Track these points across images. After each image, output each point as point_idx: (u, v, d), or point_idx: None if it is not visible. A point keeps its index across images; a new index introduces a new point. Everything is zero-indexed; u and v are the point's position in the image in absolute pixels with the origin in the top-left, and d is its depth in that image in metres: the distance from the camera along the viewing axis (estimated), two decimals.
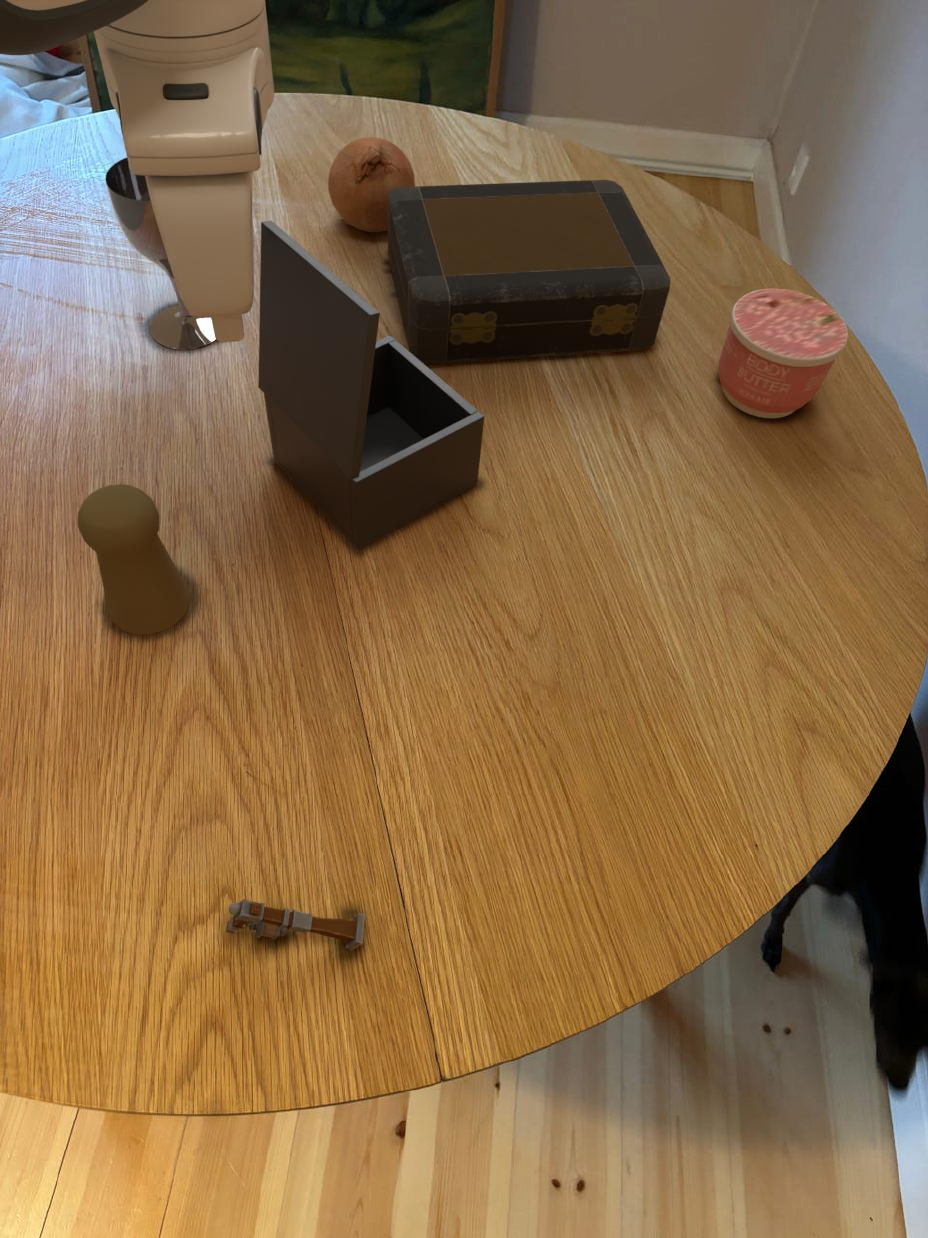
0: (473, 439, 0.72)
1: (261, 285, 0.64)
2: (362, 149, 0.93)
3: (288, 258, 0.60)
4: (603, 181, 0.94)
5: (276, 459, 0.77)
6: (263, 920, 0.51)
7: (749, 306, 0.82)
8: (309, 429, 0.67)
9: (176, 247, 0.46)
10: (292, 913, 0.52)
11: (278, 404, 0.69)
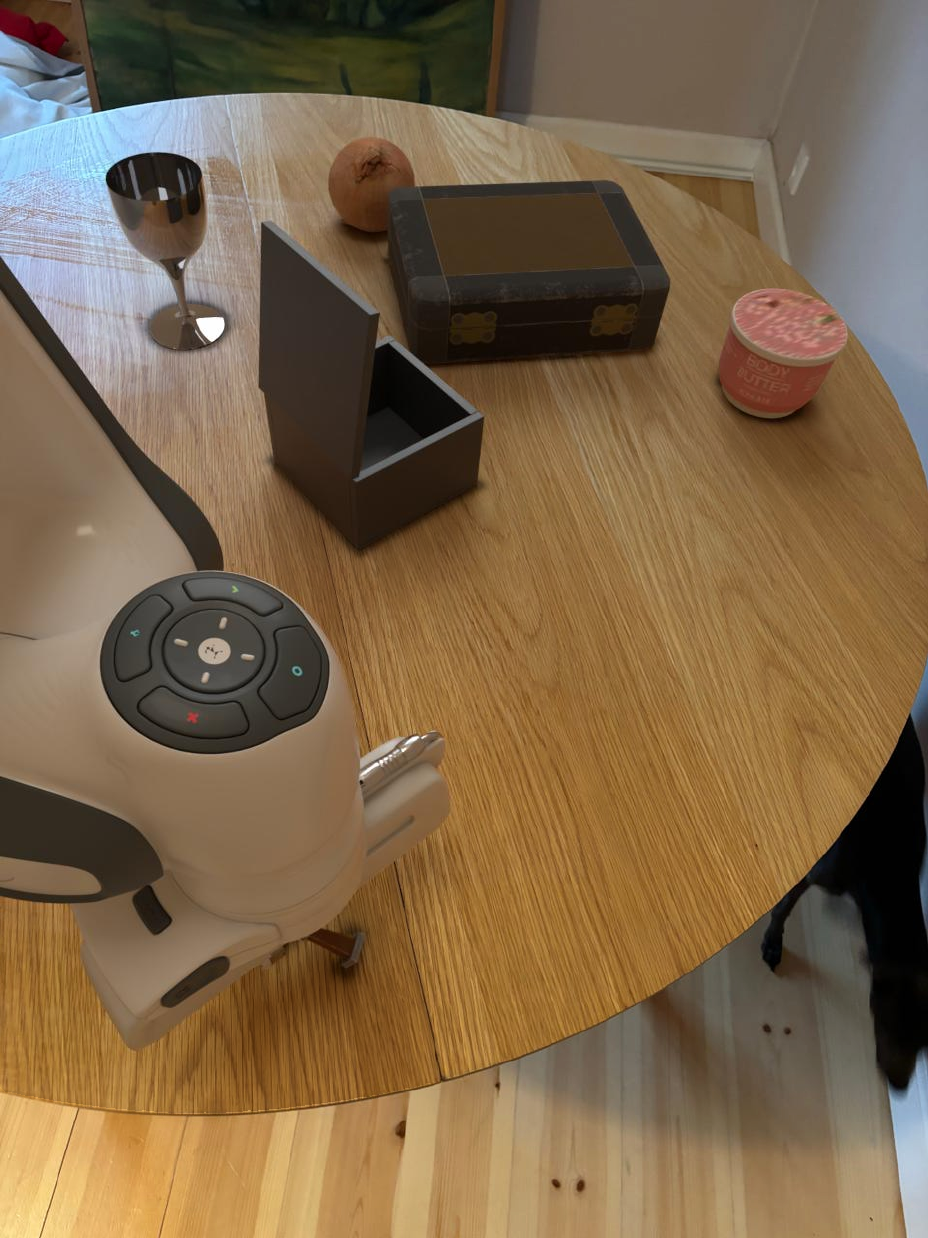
0: (473, 439, 0.72)
1: (261, 285, 0.64)
2: (362, 149, 0.93)
3: (288, 258, 0.60)
4: (603, 181, 0.94)
5: (276, 459, 0.77)
6: None
7: (749, 306, 0.82)
8: (309, 429, 0.67)
9: (86, 974, 0.42)
10: None
11: (278, 404, 0.69)
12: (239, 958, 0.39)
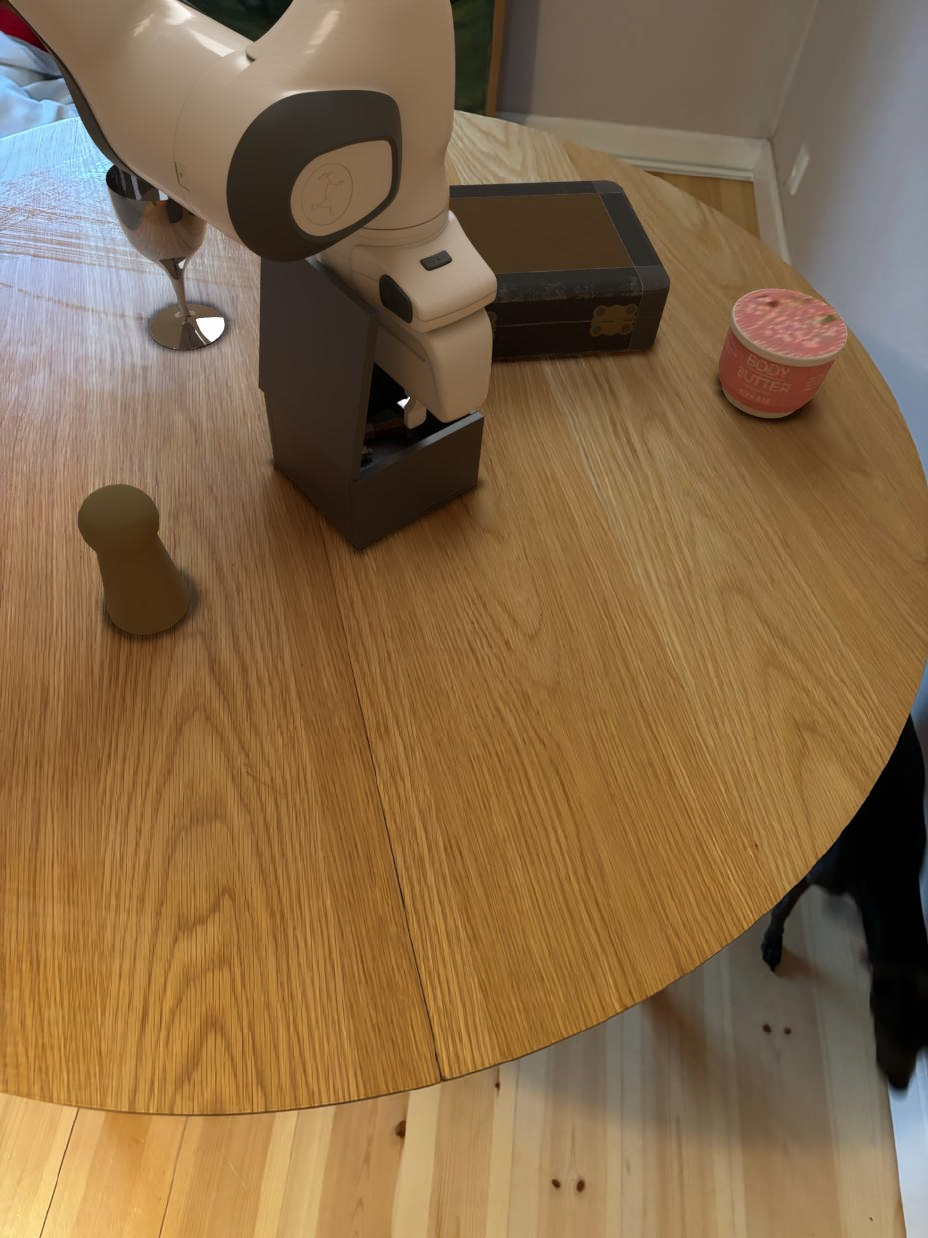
0: (473, 439, 0.72)
1: (261, 285, 0.64)
2: None
3: None
4: (603, 181, 0.94)
5: (276, 459, 0.77)
6: None
7: (749, 306, 0.82)
8: (309, 429, 0.67)
9: (450, 376, 0.59)
10: None
11: (278, 404, 0.69)
12: None
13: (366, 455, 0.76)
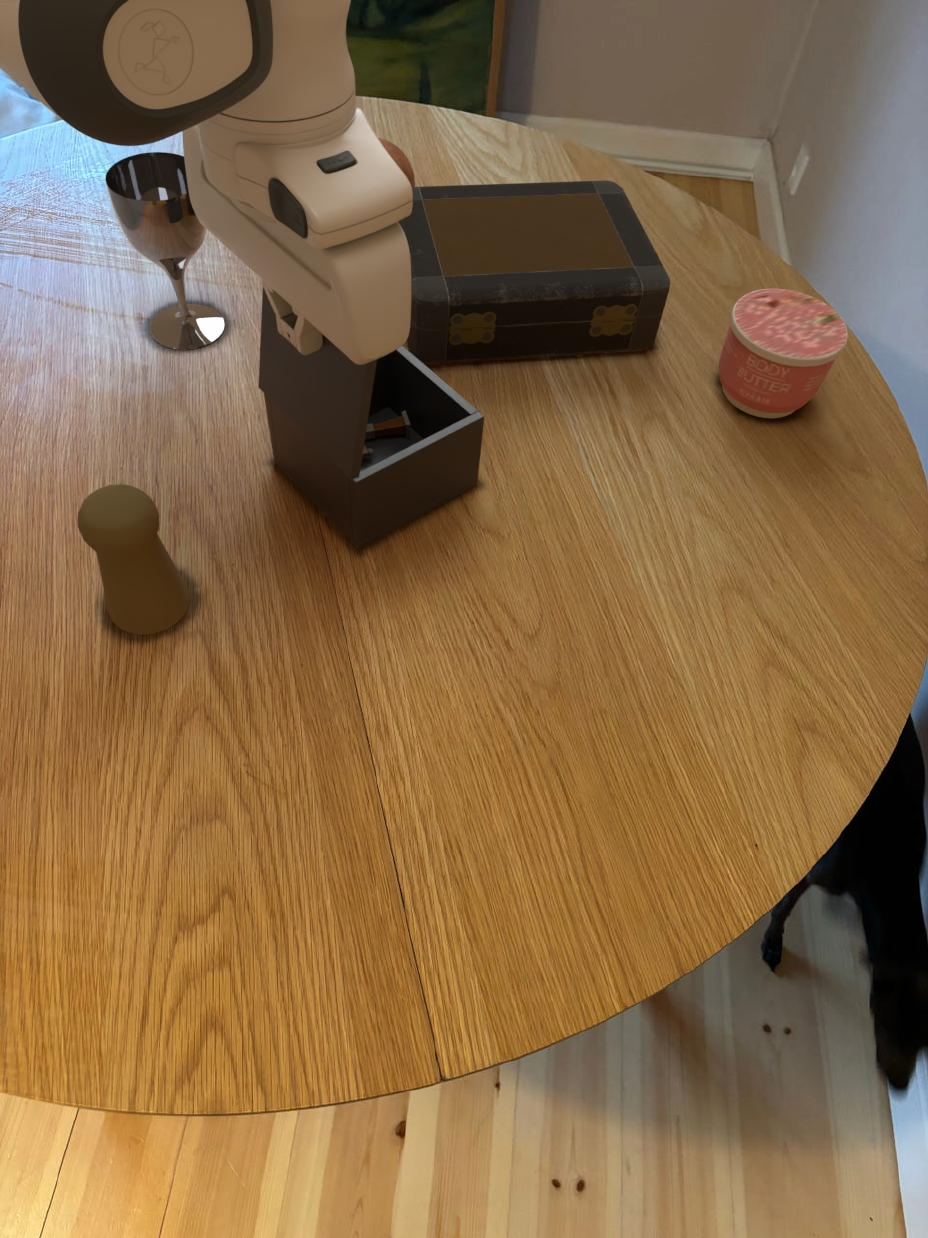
0: (473, 439, 0.72)
1: None
2: None
3: None
4: (603, 182, 0.93)
5: (276, 459, 0.77)
6: None
7: (749, 306, 0.82)
8: (309, 429, 0.67)
9: (359, 305, 0.49)
10: None
11: (278, 404, 0.69)
12: None
13: (366, 455, 0.76)
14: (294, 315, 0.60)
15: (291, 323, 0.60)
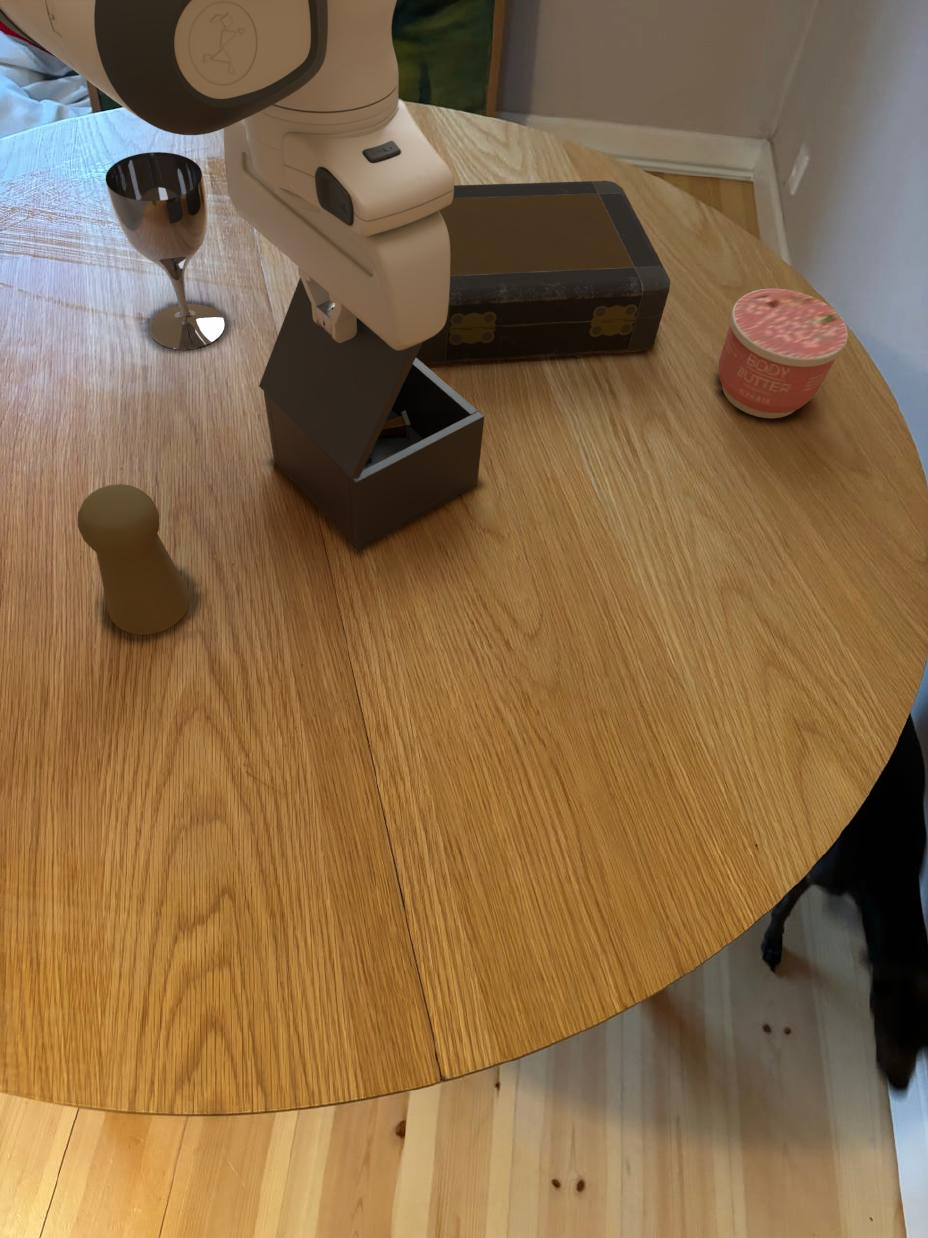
0: (473, 439, 0.72)
1: (299, 282, 0.66)
2: None
3: None
4: (603, 182, 0.94)
5: (276, 459, 0.77)
6: None
7: (749, 306, 0.82)
8: (313, 427, 0.67)
9: (401, 291, 0.51)
10: None
11: (280, 402, 0.69)
12: None
13: None
14: (329, 304, 0.62)
15: (327, 311, 0.61)
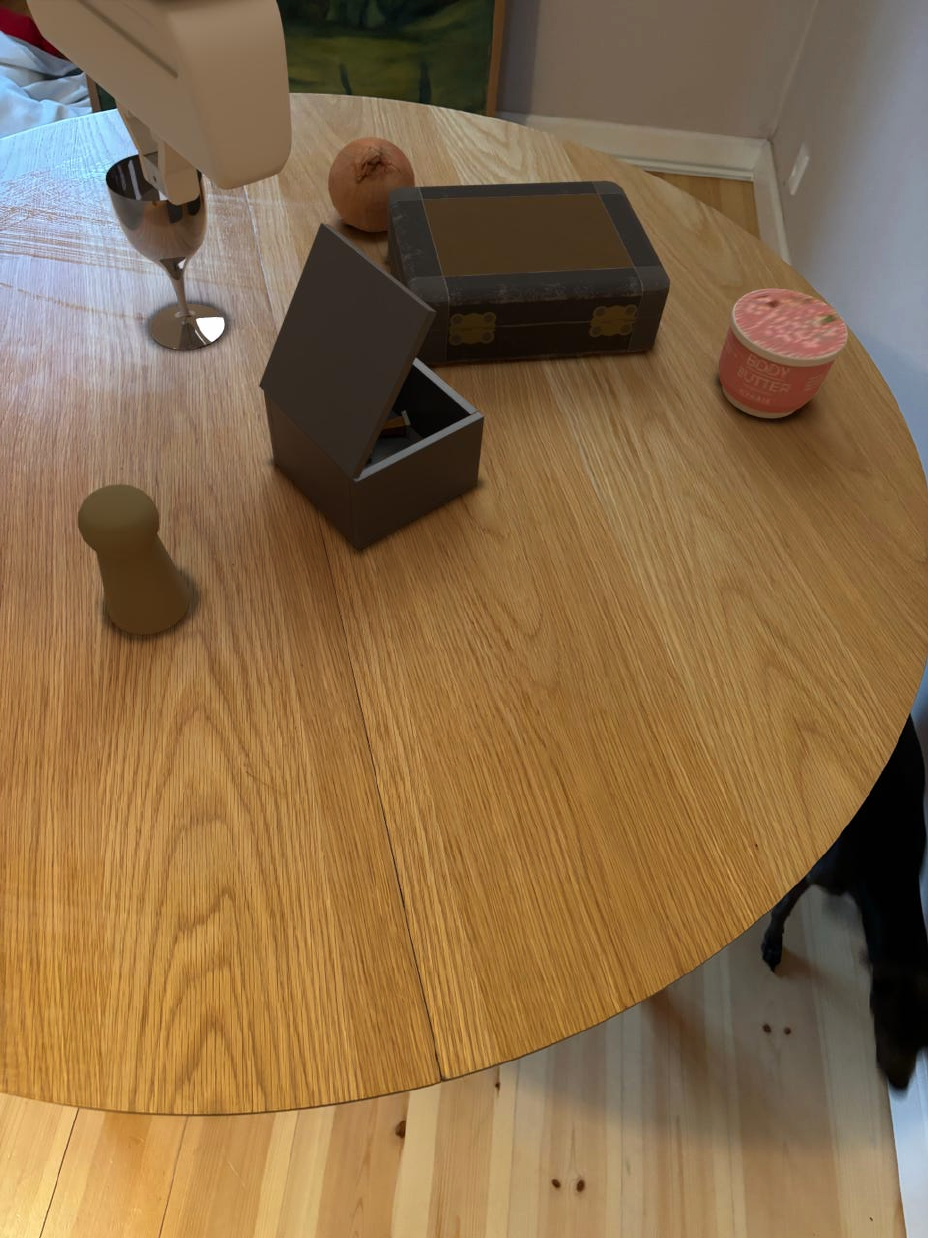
0: (473, 439, 0.72)
1: (299, 282, 0.66)
2: (362, 149, 0.93)
3: (343, 257, 0.63)
4: (603, 182, 0.93)
5: (276, 459, 0.77)
6: None
7: (749, 306, 0.82)
8: (313, 427, 0.67)
9: (211, 90, 0.36)
10: None
11: (280, 402, 0.69)
12: None
13: None
14: None
15: (156, 161, 0.47)
